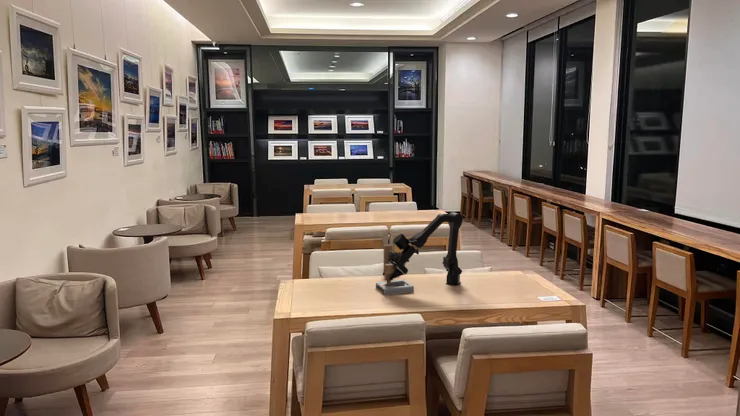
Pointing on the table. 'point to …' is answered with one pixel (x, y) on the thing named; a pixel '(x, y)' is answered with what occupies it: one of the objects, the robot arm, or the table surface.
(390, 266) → the headed peg
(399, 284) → the keyhole plate
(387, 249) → the wooden block
